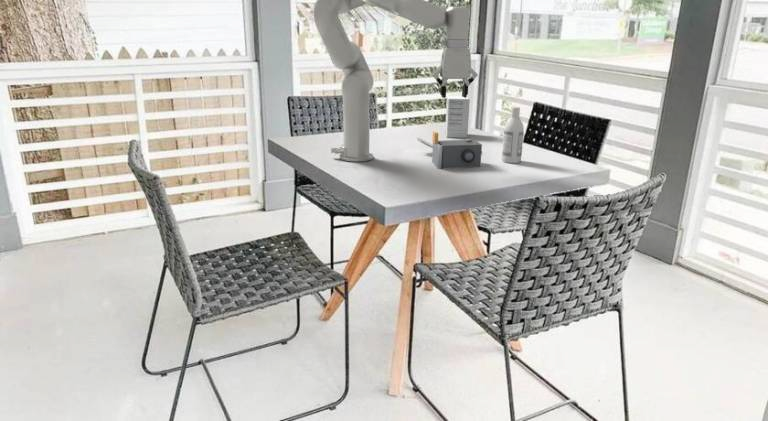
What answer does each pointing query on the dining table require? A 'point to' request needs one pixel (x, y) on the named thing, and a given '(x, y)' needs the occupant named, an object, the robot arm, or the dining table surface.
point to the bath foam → (513, 138)
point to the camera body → (461, 153)
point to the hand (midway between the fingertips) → (453, 96)
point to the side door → (436, 151)
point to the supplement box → (457, 117)
